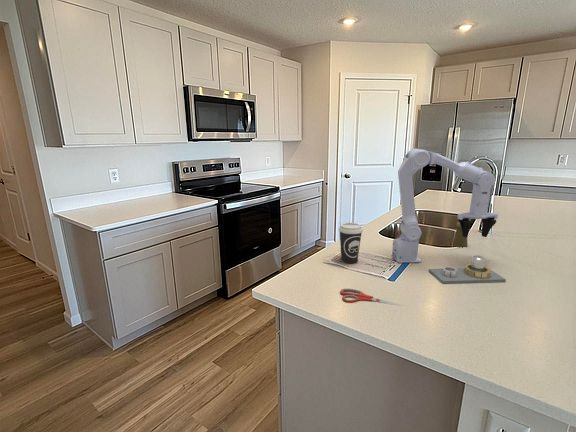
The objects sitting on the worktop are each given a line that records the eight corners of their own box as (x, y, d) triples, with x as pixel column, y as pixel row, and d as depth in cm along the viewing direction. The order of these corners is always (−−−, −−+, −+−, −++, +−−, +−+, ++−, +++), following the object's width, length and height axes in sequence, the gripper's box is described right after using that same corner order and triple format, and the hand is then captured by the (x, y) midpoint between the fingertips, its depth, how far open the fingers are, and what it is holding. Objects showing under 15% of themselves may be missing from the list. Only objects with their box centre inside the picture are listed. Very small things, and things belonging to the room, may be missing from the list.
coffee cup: (363, 258, 128) (365, 223, 125) (358, 266, 120) (360, 230, 116) (341, 254, 132) (342, 221, 128) (334, 263, 124) (335, 227, 120)
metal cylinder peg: (474, 276, 109) (477, 260, 107) (467, 271, 113) (469, 255, 111) (485, 275, 109) (488, 259, 107) (478, 270, 113) (480, 255, 111)
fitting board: (442, 283, 106) (442, 281, 105) (428, 271, 115) (428, 268, 115) (505, 281, 106) (505, 279, 106) (486, 269, 116) (486, 267, 116)
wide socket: (472, 278, 107) (473, 273, 106) (459, 269, 114) (460, 264, 114) (495, 278, 107) (496, 272, 106) (480, 268, 115) (481, 263, 114)
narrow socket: (446, 277, 108) (446, 272, 107) (438, 271, 113) (439, 266, 112) (460, 277, 108) (461, 271, 108) (452, 271, 113) (453, 266, 112)
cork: (469, 248, 138) (472, 224, 135) (454, 247, 139) (457, 223, 136) (464, 243, 144) (468, 220, 141) (450, 242, 145) (453, 220, 142)
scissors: (411, 310, 91) (411, 306, 91) (339, 303, 95) (339, 299, 95) (407, 297, 98) (407, 293, 98) (340, 291, 103) (340, 287, 102)
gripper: (467, 205, 113) (462, 240, 117) (505, 204, 114) (499, 239, 117) (456, 201, 120) (452, 234, 124) (492, 200, 121) (487, 233, 124)
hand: (474, 236), depth 121 cm, fingers open, 7 cm apart
